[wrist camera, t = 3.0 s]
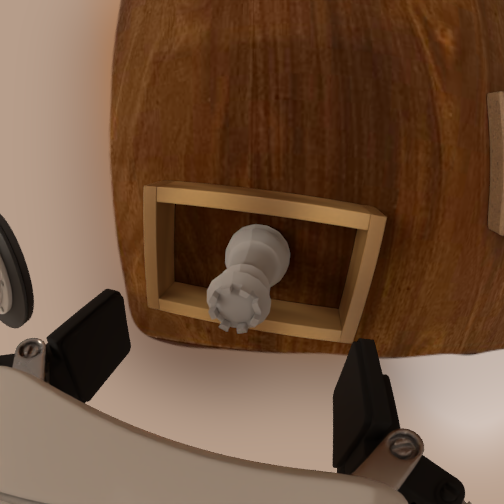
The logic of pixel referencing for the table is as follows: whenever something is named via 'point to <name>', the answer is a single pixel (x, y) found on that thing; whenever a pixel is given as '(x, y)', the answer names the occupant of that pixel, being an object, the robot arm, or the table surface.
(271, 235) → the rook chess piece
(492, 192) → the candle holder
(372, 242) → the rectangular wooden frame
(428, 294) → the table surface
